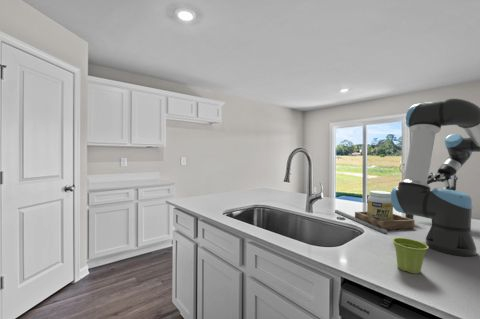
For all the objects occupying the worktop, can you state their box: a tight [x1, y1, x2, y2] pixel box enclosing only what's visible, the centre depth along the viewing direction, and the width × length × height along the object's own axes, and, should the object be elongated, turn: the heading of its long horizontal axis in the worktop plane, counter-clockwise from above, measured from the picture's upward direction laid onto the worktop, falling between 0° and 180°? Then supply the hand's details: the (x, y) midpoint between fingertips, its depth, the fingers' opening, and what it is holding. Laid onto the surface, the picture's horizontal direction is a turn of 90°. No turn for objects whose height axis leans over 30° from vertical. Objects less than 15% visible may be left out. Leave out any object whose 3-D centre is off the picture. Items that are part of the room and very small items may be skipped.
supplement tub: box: [366, 190, 394, 221], centre depth 128 cm, size 12×12×17 cm
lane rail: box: [334, 209, 388, 235], centre depth 130 cm, size 40×1×2 cm, turn 11°
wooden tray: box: [354, 211, 416, 231], centre depth 127 cm, size 19×28×12 cm
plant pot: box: [392, 237, 430, 274], centre depth 76 cm, size 9×9×9 cm
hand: (426, 195), depth 131 cm, fingers open, 13 cm apart
